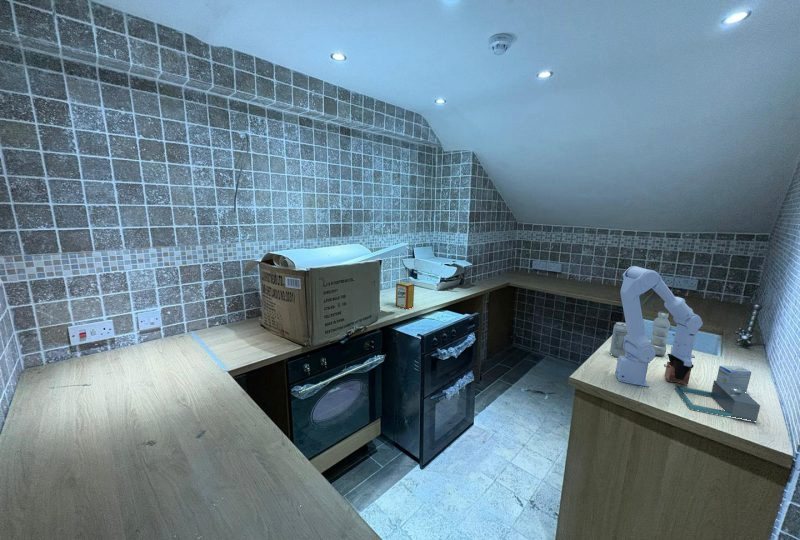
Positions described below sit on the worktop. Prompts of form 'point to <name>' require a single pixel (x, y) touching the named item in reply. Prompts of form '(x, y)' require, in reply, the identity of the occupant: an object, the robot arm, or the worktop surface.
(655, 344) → the plastic bottle
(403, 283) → the baking soda box
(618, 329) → the energy drink can
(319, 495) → the worktop surface
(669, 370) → the brown wooden block
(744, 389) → the medicine box
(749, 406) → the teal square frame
